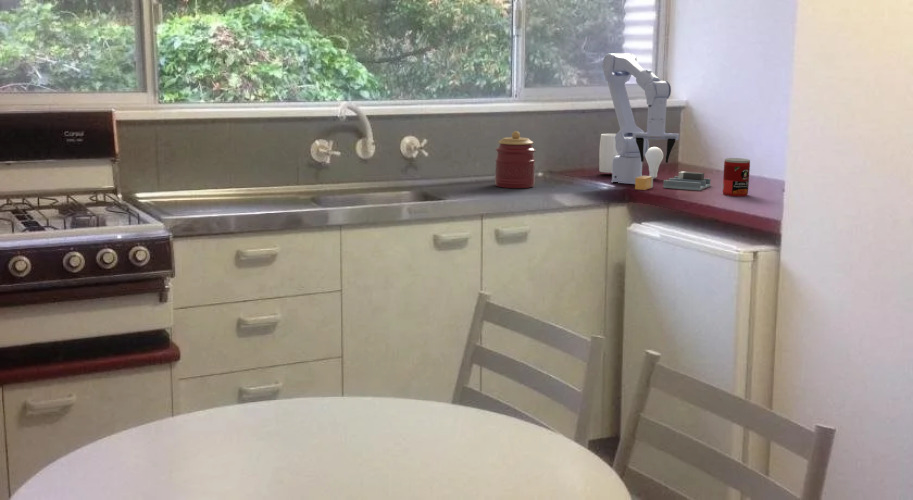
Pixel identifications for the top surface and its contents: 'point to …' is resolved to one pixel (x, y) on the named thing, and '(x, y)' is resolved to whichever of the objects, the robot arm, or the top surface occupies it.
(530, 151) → the canister
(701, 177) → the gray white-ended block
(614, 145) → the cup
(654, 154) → the lightbulb
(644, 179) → the tall orange block
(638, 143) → the robot arm
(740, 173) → the canned food
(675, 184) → the slot board
